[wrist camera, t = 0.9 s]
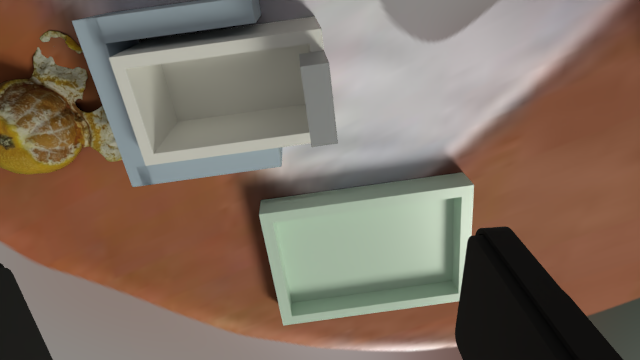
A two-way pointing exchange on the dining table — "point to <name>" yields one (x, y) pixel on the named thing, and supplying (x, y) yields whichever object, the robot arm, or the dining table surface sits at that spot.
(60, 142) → the fruit
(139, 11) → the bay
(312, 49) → the box
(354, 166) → the dining table surface
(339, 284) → the tray
